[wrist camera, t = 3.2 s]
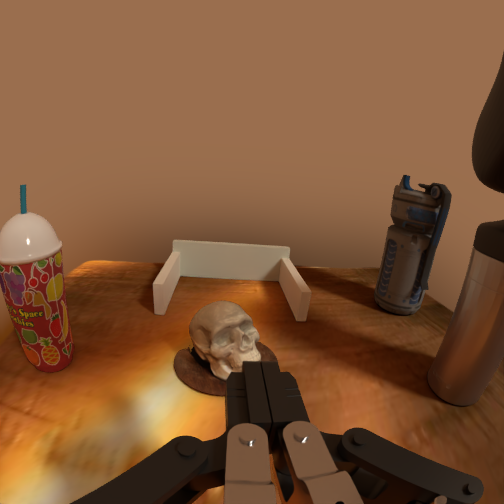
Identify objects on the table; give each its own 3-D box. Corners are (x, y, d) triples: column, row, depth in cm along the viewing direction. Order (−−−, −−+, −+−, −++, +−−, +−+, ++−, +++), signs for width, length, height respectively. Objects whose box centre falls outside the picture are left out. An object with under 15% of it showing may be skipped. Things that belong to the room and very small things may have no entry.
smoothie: (13, 369, 20) (-27, 192, 14) (44, 334, 28) (23, 183, 22) (64, 389, 21) (23, 187, 15) (92, 346, 29) (74, 179, 23)
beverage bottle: (397, 327, 40) (431, 175, 33) (361, 294, 53) (383, 170, 46) (435, 320, 42) (466, 187, 35) (397, 292, 54) (419, 179, 47)
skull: (306, 365, 29) (269, 327, 23) (246, 427, 27) (189, 409, 21) (247, 317, 38) (206, 275, 32) (198, 368, 36) (147, 336, 30)
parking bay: (284, 278, 58) (288, 246, 56) (305, 321, 41) (313, 279, 39) (174, 272, 55) (174, 239, 53) (154, 314, 39) (152, 270, 37)
